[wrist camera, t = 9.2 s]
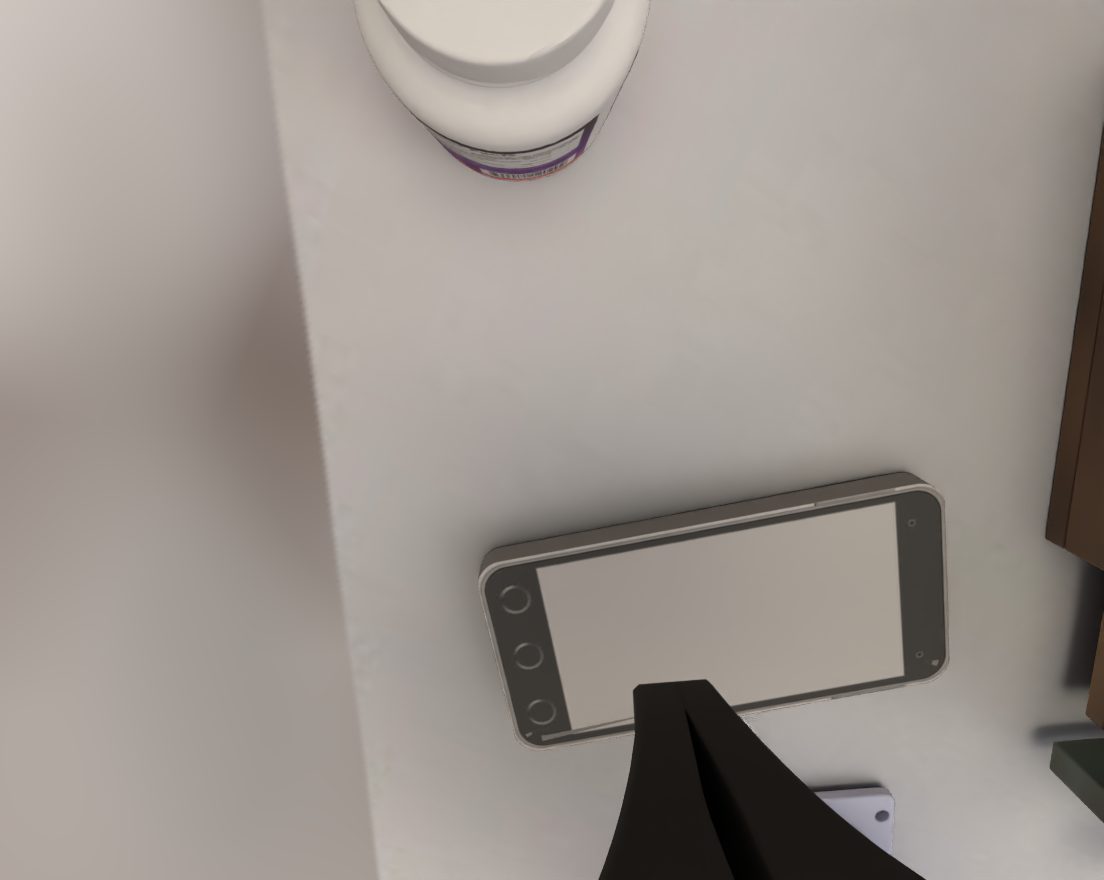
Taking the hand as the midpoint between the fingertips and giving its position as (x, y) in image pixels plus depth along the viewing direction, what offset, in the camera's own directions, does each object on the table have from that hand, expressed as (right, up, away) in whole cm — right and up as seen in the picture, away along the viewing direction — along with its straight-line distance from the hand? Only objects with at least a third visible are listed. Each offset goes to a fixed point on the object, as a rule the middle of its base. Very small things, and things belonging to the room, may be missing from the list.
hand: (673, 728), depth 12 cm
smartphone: (+3, -1, +11) cm, 12 cm away
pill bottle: (-3, +15, +7) cm, 17 cm away
